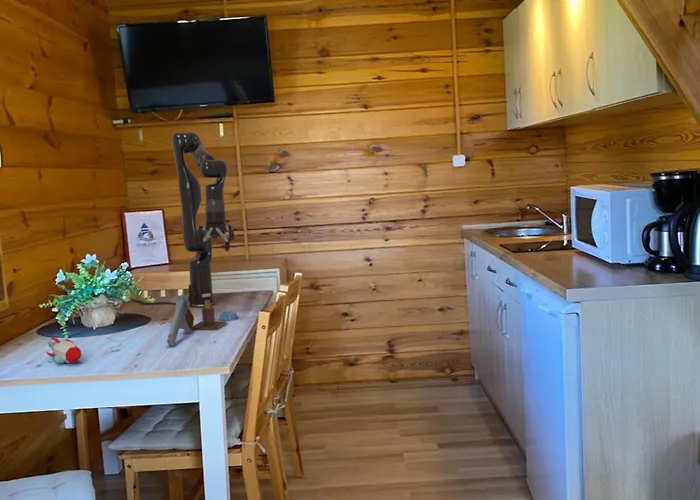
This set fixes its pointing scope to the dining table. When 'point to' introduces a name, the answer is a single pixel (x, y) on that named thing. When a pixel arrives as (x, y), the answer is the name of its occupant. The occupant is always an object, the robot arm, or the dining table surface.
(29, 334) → the dining table surface
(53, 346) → the toy
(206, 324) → the stand
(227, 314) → the ring
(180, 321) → the handgun
